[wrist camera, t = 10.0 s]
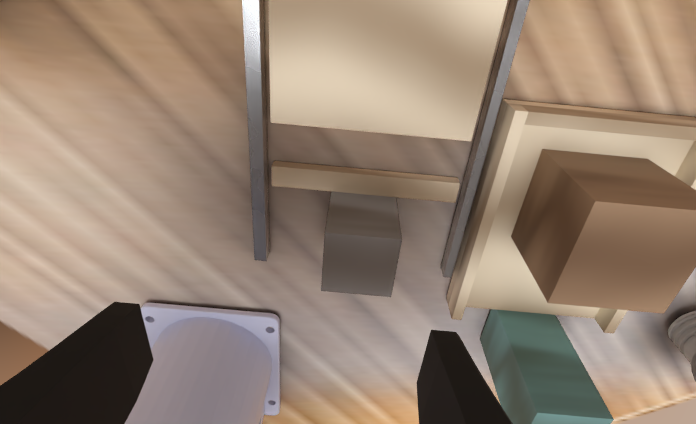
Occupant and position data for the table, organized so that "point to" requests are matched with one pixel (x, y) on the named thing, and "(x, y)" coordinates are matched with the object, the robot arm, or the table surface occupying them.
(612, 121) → the cream sliding tray
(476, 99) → the cream flat panel
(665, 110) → the table surface
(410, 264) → the table surface
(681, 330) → the light bulb
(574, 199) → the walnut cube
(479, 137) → the lane rails
